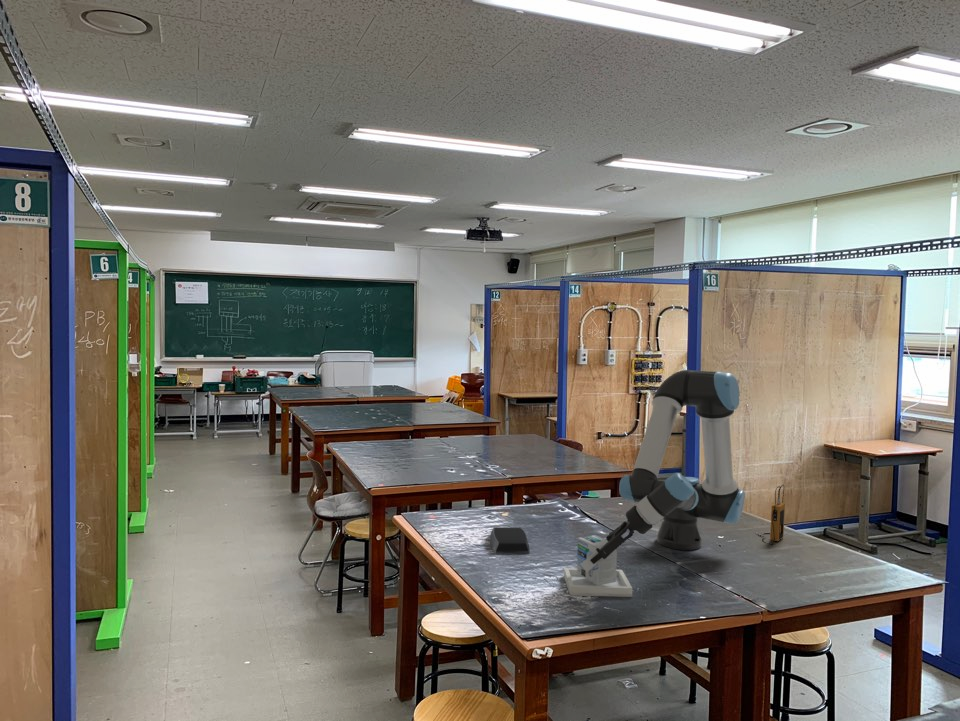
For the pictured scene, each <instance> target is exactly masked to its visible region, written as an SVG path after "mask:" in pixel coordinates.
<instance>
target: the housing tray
mask: <svg viewBox="0 0 960 721" xmlns="http://www.w3.org/2000/svg"><path fill="white" fill-rule="evenodd" d="M563 578H564V581H565V583H566V587H567V590H568V593H569V596H585V597H615V598H616V597H619V598H620V597H621V598H622V597H623V598H633V589H634V588H633V586H632V585H631V583H630V581H629V579H628V578H627V576H626V574H625V573H624V571H623V569H616V582H613V583H608V584H603V585H596V584H594V583H593V582H591V581H589V580H588V579H586V578H584V577H583V576H581V575H579V574H578V573H577V567H575V568H573V567H564V568H563Z"/></svg>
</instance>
